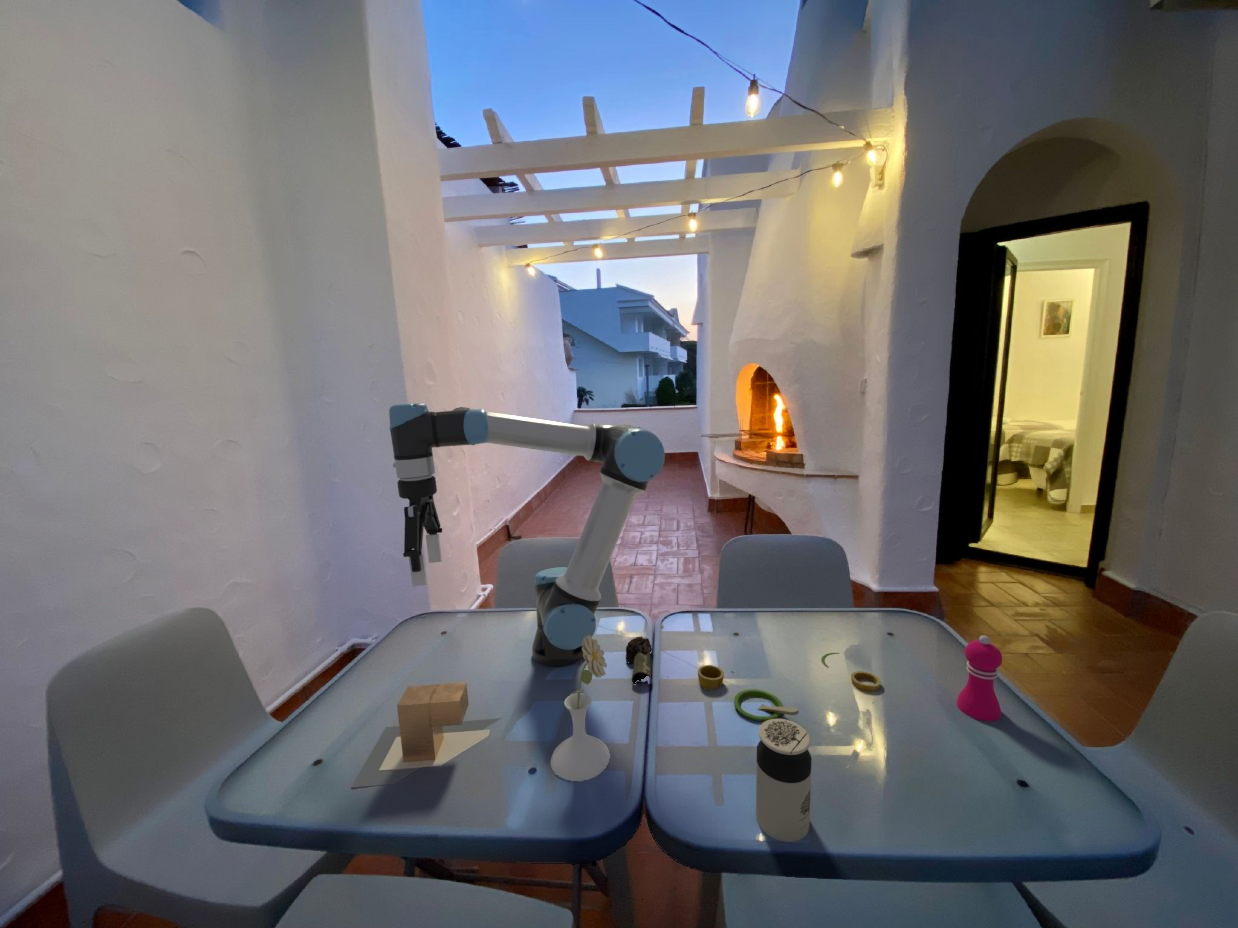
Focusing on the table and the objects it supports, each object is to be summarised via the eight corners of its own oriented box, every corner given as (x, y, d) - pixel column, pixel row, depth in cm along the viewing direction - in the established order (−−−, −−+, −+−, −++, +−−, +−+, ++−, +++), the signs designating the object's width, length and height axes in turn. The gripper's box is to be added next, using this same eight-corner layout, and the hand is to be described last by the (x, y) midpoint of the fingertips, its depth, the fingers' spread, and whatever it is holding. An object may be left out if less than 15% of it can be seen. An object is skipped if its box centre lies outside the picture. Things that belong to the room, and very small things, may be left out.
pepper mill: (986, 744, 96) (995, 649, 92) (947, 722, 102) (954, 632, 99) (1006, 731, 99) (1015, 639, 96) (967, 711, 105) (975, 623, 102)
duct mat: (509, 721, 107) (509, 716, 106) (497, 779, 91) (496, 774, 91) (386, 731, 105) (385, 726, 105) (351, 792, 89) (350, 786, 89)
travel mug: (745, 833, 78) (746, 731, 76) (775, 806, 83) (777, 710, 80) (789, 871, 72) (791, 762, 69) (818, 840, 77) (822, 736, 74)
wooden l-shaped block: (413, 740, 100) (408, 686, 98) (471, 735, 101) (466, 682, 99) (403, 762, 94) (397, 705, 92) (464, 757, 95) (459, 700, 93)
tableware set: (711, 744, 99) (711, 715, 98) (690, 666, 126) (690, 643, 125) (916, 737, 99) (918, 708, 98) (851, 660, 126) (852, 638, 125)
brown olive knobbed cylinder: (652, 689, 115) (652, 667, 114) (623, 688, 116) (623, 666, 115) (652, 651, 133) (652, 631, 132) (627, 650, 133) (627, 631, 132)
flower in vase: (588, 801, 85) (581, 669, 81) (538, 776, 91) (530, 651, 87) (626, 753, 96) (623, 634, 92) (580, 733, 102) (574, 620, 98)
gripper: (414, 468, 116) (424, 555, 119) (376, 491, 91) (391, 598, 95) (447, 466, 116) (456, 552, 120) (419, 487, 92) (432, 594, 95)
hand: (428, 572), depth 107 cm, fingers open, 13 cm apart
